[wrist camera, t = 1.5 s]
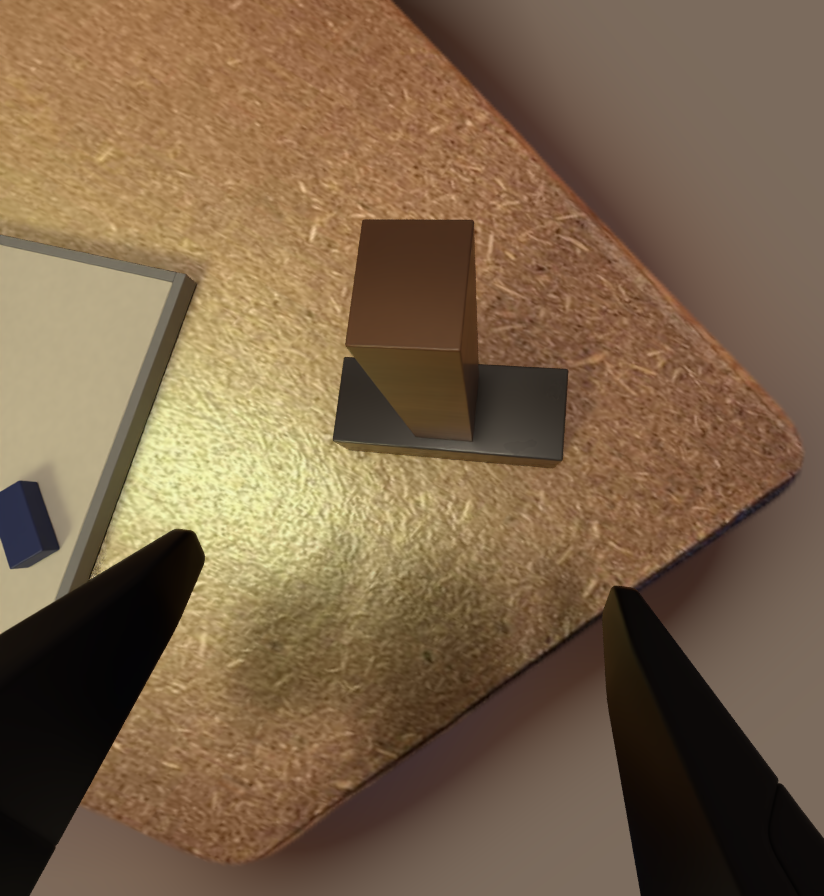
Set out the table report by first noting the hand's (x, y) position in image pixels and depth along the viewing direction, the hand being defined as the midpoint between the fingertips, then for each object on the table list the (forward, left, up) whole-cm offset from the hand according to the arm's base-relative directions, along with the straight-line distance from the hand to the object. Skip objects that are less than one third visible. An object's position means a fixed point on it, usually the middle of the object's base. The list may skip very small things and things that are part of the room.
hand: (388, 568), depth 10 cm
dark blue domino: (-5, +21, -11) cm, 24 cm away
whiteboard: (-1, +27, -12) cm, 30 cm away
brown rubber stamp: (+6, +1, -12) cm, 14 cm away
